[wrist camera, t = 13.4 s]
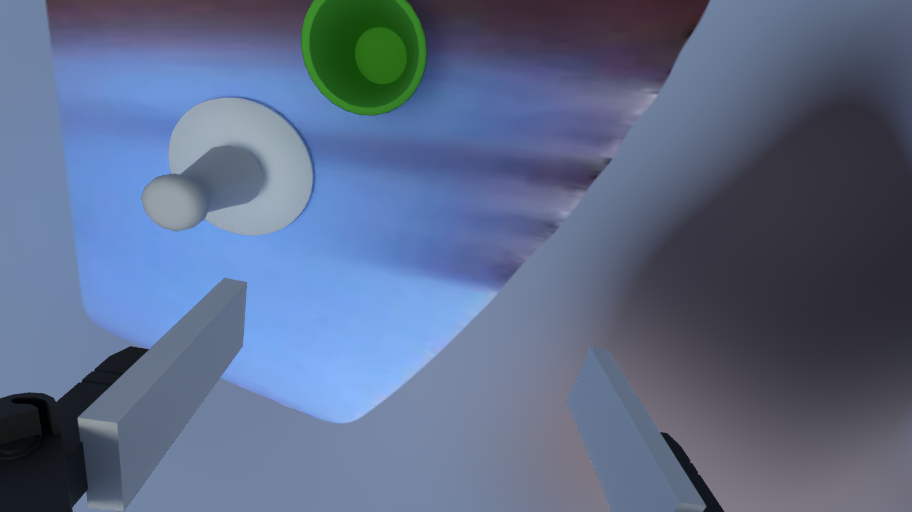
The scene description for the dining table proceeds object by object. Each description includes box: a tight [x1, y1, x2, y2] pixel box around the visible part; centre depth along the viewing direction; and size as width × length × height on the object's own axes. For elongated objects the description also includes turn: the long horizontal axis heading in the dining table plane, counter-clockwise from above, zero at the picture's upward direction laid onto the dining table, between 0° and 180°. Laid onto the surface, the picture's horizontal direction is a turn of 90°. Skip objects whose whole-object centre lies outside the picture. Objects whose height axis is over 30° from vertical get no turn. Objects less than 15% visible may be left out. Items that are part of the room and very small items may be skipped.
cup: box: [301, 0, 427, 115], centre depth 36 cm, size 9×9×11 cm
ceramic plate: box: [169, 97, 314, 235], centre depth 44 cm, size 14×14×1 cm
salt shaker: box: [141, 145, 263, 231], centre depth 37 cm, size 6×6×13 cm
